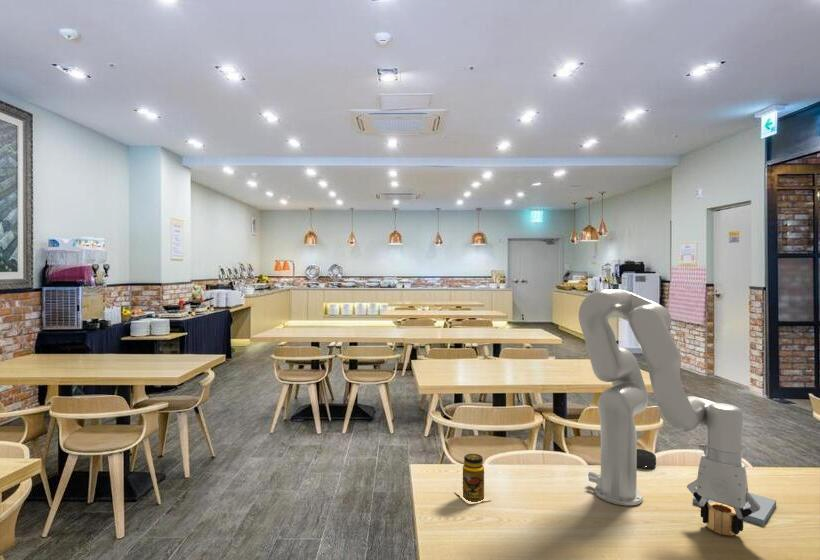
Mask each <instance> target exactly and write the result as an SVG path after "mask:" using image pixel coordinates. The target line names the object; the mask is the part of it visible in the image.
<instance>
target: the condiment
mask: <svg viewBox="0 0 820 560" xmlns="http://www.w3.org/2000/svg"><path fill="white" fill-rule="evenodd" d="M463 459H464V460H463V465H462V491H463V497H464V498H465V499H466V500H468V501H471V502H478V501H481V500H483V499H484V495H485V467H484V463H483V461H484V460H483V459H484V458H483V456H482V455H480V454H478V453H468V454H465V455H464V458H463Z"/></svg>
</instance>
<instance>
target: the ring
mask: <svg viewBox="0 0 820 560" xmlns="http://www.w3.org/2000/svg"><path fill="white" fill-rule="evenodd" d="M735 517H736V513H735V510H734V508H732V507H730V506H728V505H725V504H721V503H715V502H713V503H708V504H707V523H705V524H706V526H707V528H708V529H709V530H712V531H713V532H715V533H718V534H720V535H724V536H735V535H736V534H735V533H734V518H735Z"/></svg>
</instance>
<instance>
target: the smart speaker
mask: <svg viewBox="0 0 820 560" xmlns="http://www.w3.org/2000/svg"><path fill="white" fill-rule="evenodd" d="M656 465H657V456H656V455H655V454H654V453H653V452H652V451H650V450H647V449H642V448H641V449H639V448H637V468H639V467H645V466H647V467H645V468H644V469H653V468H655V467H656Z"/></svg>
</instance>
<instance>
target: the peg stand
mask: <svg viewBox="0 0 820 560" xmlns="http://www.w3.org/2000/svg"><path fill="white" fill-rule="evenodd" d="M749 494H750V495H751V496H752V497H753V498H754V499H755V501H756V502H757V503H758V504H759V505H760V507H761V508H760V510H759V511H757V512H755V513H752V514H750V515H748V516H746V517H744V518H743V521H747V522H750V523H753V524H757V525H759V526H763V527H764V526H765V525H766V524H767V521H768V520H769V519H770V517H771V515H772V514H773V512H774V510H775V508H776V507H777V500H776V499H773V498H769V497H765V496H761V495H759V494H755V493H751V492H749ZM713 502H715V503H719V502H716V501H713V500H710V499H709V500H708V503H713ZM692 504H693V505H695V506H699V507H701V506H700V505H699V502H698V501H697V500H696V498H695V497H694V496H693V497H692ZM721 504H722V503H721ZM750 506H751V505H750V504H749V503H748V502H747V503H745V506H744V507H743V508H744V509H746V508H748V507H750ZM730 507H731V506H730ZM732 508H734V507H732Z"/></svg>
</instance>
